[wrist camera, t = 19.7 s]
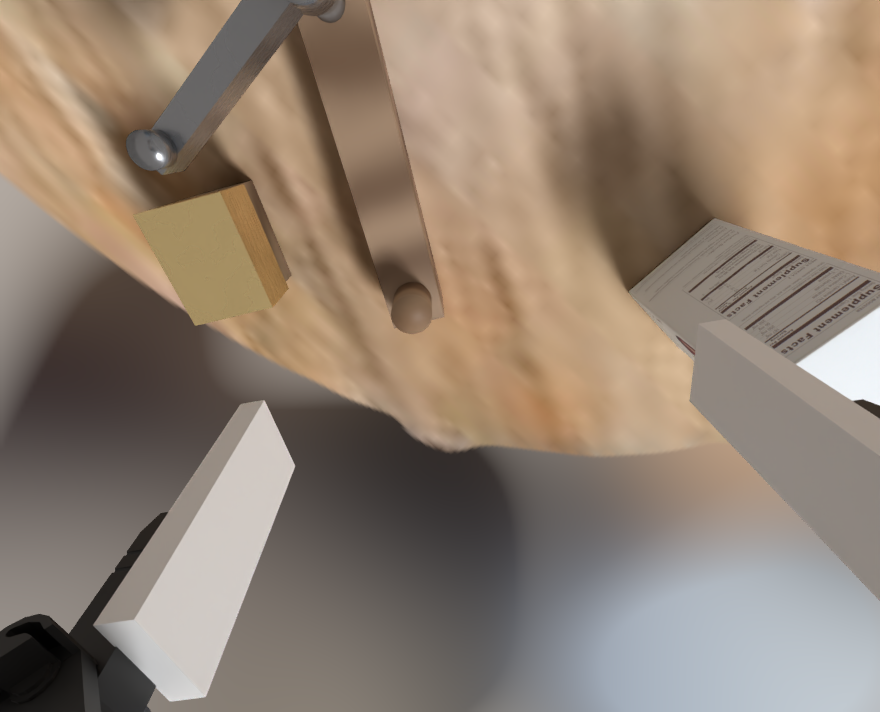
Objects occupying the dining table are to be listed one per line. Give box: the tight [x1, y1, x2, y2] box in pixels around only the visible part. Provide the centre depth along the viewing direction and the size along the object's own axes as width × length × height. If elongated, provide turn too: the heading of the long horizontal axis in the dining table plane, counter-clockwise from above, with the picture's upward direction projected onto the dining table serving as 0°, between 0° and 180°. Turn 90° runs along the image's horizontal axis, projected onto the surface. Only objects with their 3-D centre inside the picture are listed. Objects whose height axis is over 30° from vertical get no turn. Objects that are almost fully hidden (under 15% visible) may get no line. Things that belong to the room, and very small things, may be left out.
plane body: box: [298, 0, 444, 334], centre depth 30 cm, size 22×4×9 cm, turn 13°
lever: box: [126, 0, 336, 175], centre depth 21 cm, size 14×3×4 cm, turn 132°
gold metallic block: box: [133, 184, 289, 326], centre depth 31 cm, size 8×6×4 cm
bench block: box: [177, 180, 291, 281], centre depth 34 cm, size 8×4×4 cm, turn 13°
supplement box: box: [629, 218, 880, 406], centre depth 32 cm, size 10×9×17 cm
